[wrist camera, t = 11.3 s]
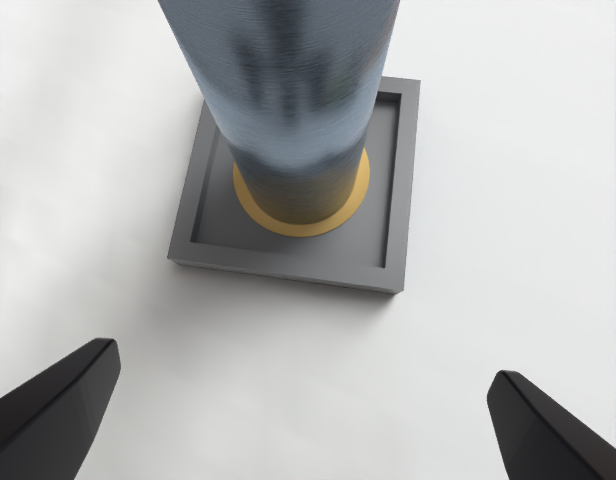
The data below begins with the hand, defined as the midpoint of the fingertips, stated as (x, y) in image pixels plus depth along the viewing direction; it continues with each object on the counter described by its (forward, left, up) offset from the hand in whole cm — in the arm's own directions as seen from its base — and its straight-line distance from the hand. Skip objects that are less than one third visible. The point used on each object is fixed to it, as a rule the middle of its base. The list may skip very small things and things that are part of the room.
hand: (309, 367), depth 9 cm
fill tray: (+9, +2, -9) cm, 13 cm away
